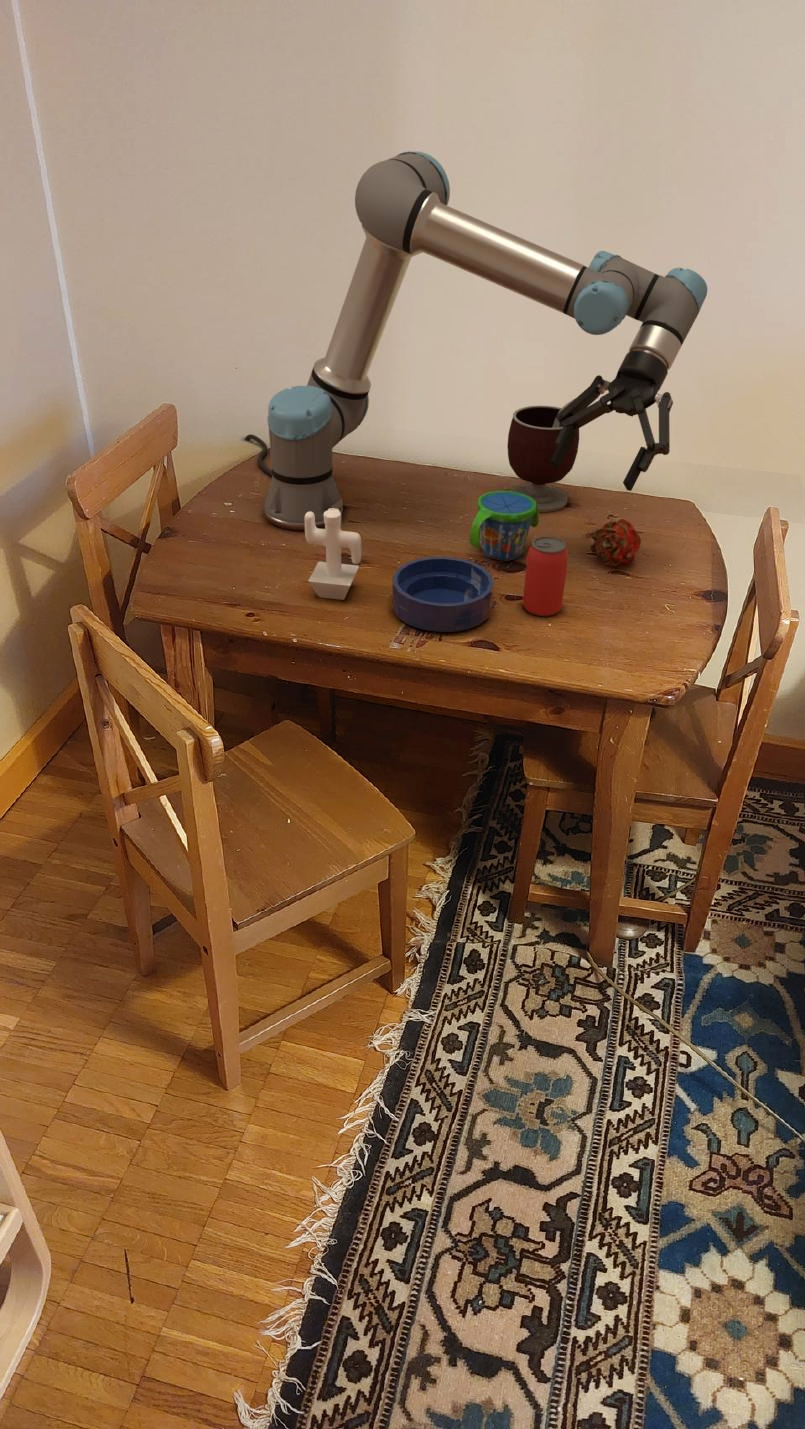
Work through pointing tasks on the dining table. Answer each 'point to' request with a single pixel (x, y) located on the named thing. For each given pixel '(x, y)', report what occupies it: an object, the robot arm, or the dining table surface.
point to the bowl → (442, 594)
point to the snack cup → (503, 523)
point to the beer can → (545, 576)
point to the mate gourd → (539, 454)
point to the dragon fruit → (616, 542)
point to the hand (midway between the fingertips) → (590, 476)
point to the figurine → (332, 555)
